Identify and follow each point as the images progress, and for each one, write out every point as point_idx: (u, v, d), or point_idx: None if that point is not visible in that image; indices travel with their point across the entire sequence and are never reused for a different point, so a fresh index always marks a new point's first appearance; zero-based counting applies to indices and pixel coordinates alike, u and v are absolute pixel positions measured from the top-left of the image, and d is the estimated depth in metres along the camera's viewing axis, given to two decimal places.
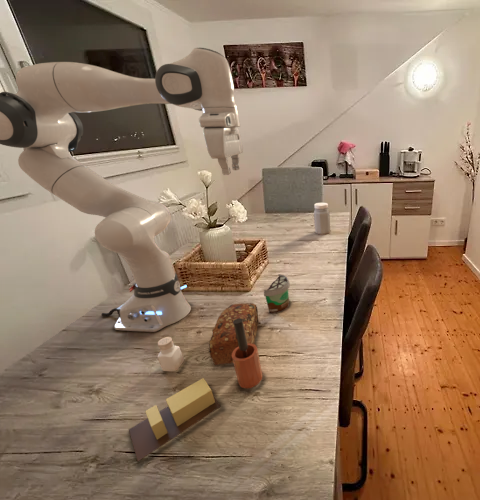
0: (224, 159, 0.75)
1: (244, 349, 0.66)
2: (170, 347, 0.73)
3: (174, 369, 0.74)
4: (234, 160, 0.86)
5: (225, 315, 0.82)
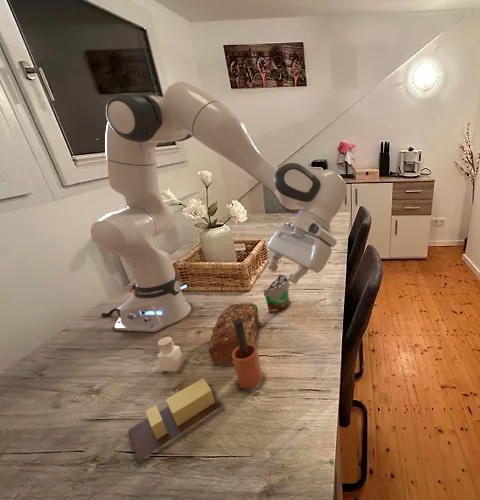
0: (306, 270, 0.67)
1: (244, 349, 0.66)
2: (170, 347, 0.73)
3: (174, 369, 0.74)
4: (274, 259, 0.74)
5: (225, 315, 0.82)
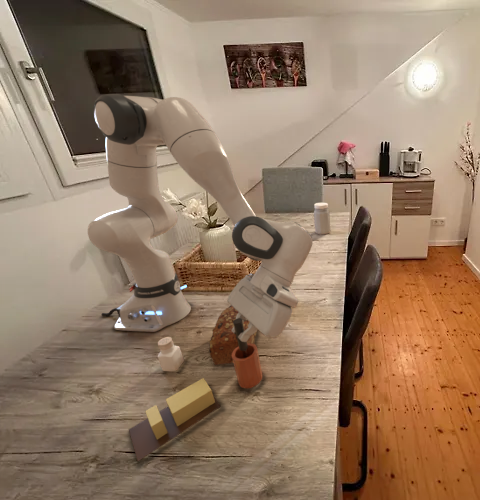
0: None
1: (244, 349, 0.66)
2: (170, 347, 0.73)
3: (174, 369, 0.74)
4: None
5: (225, 315, 0.82)
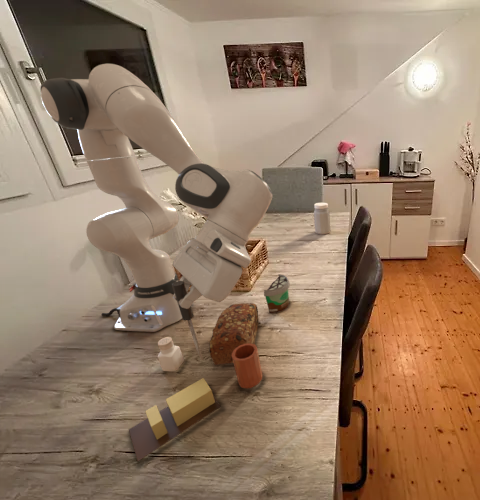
0: None
1: (188, 318, 0.56)
2: (170, 347, 0.73)
3: (174, 369, 0.74)
4: None
5: (225, 315, 0.82)
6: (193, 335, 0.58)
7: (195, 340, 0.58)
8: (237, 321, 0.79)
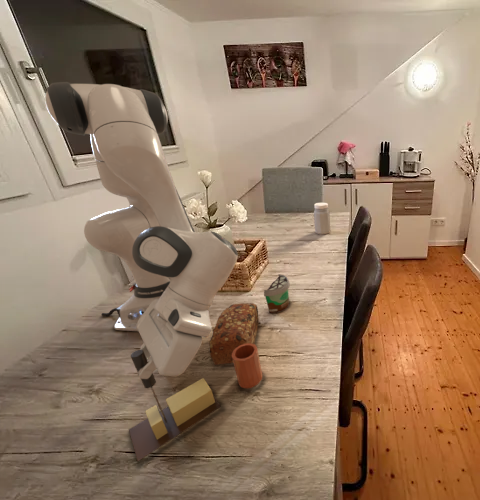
0: None
1: (149, 386, 0.55)
2: None
3: None
4: (145, 352, 0.56)
5: (225, 315, 0.82)
6: None
7: None
8: (237, 321, 0.79)
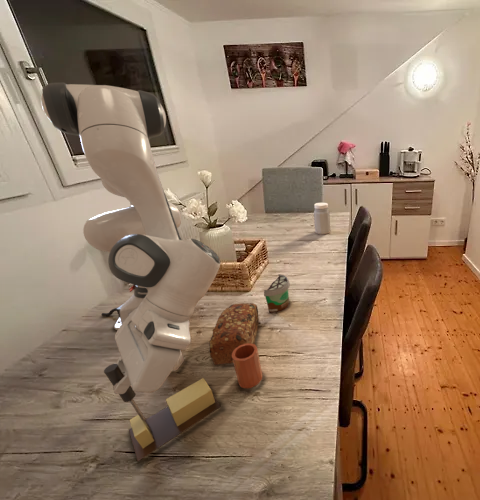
0: None
1: (128, 400, 0.53)
2: None
3: (174, 369, 0.74)
4: (122, 365, 0.53)
5: (225, 315, 0.82)
6: (138, 413, 0.55)
7: None
8: (237, 321, 0.79)
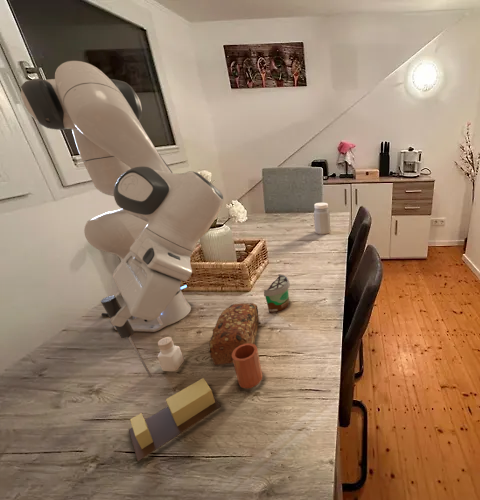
0: None
1: (126, 336, 0.51)
2: (170, 347, 0.73)
3: (174, 369, 0.74)
4: (120, 300, 0.51)
5: (225, 315, 0.82)
6: (136, 352, 0.53)
7: None
8: (237, 321, 0.79)
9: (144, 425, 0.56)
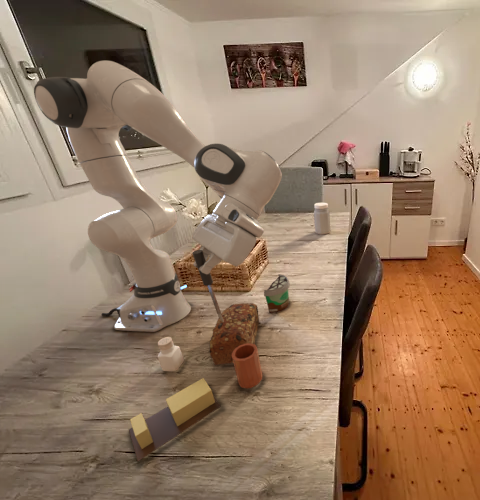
0: (220, 259, 0.60)
1: (208, 283, 0.62)
2: (170, 347, 0.73)
3: (174, 369, 0.74)
4: None
5: (225, 315, 0.82)
6: (214, 299, 0.65)
7: (216, 304, 0.65)
8: (237, 321, 0.79)
9: (144, 425, 0.56)
